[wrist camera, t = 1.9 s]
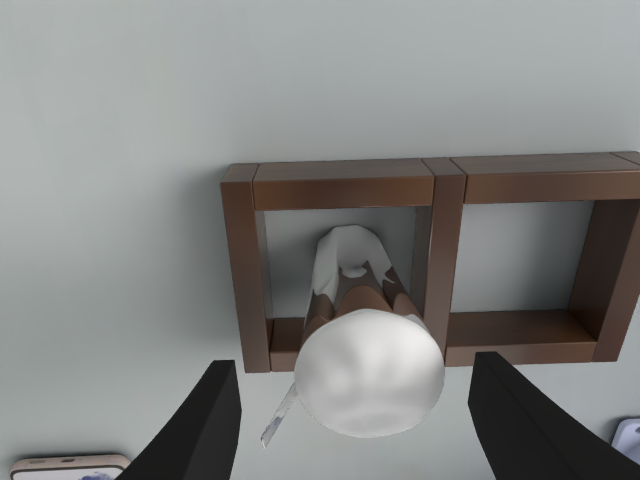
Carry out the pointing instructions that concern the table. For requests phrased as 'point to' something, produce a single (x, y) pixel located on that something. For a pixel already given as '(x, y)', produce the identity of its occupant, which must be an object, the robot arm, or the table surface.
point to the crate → (449, 248)
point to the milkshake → (362, 344)
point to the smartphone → (69, 468)
